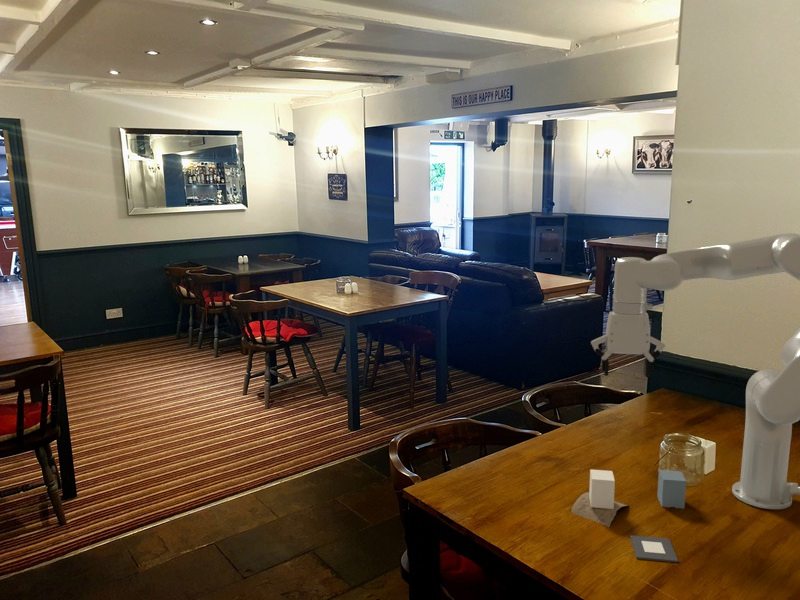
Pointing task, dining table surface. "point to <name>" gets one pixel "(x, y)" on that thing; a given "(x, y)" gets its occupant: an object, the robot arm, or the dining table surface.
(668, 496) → the slate-blue block
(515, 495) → the dining table surface
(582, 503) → the clay tablet
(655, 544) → the card
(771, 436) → the robot arm
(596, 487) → the cream block
